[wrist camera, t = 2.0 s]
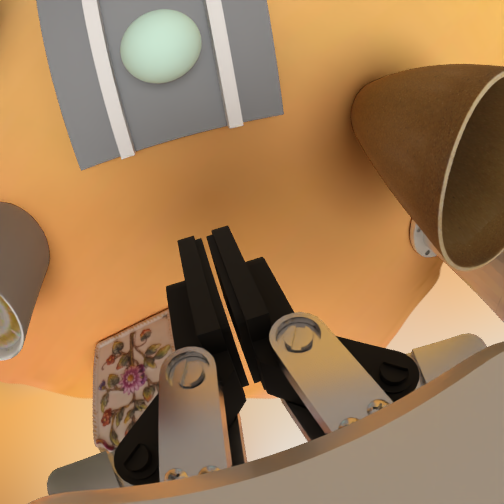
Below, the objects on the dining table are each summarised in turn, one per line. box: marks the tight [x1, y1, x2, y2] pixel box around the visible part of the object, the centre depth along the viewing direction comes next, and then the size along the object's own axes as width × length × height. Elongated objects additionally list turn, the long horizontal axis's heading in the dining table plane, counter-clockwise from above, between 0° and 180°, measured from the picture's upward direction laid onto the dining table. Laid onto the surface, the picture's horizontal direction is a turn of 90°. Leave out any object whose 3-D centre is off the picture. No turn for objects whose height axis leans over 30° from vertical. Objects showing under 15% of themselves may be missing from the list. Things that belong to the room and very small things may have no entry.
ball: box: [120, 9, 202, 83], centre depth 16 cm, size 5×5×5 cm
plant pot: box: [351, 64, 504, 271], centre depth 21 cm, size 15×15×16 cm
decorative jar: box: [93, 308, 175, 453], centre depth 30 cm, size 12×12×18 cm
